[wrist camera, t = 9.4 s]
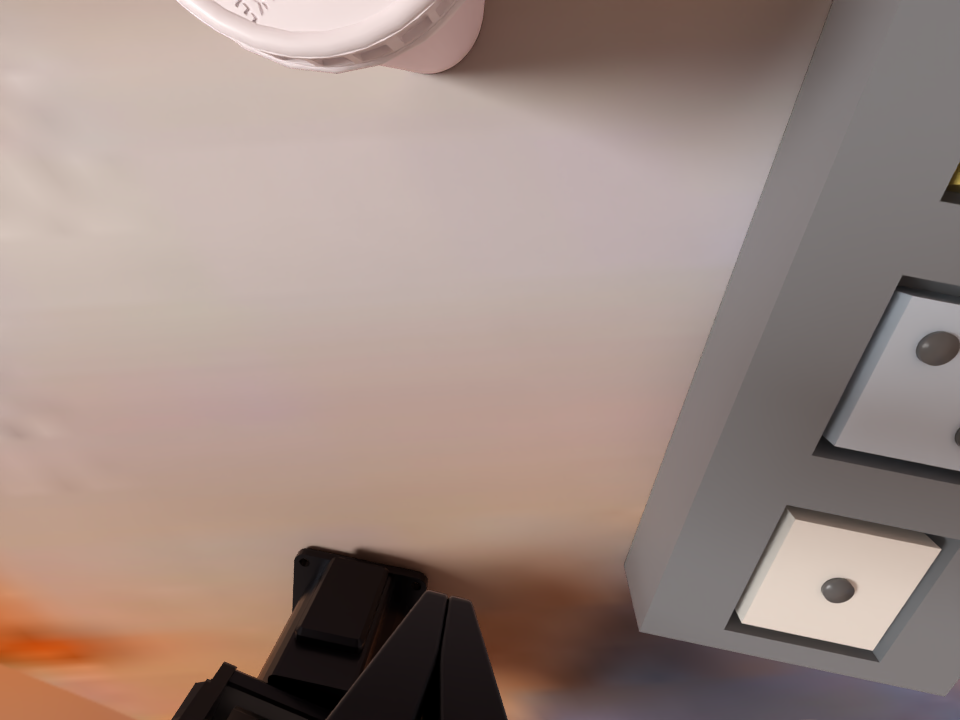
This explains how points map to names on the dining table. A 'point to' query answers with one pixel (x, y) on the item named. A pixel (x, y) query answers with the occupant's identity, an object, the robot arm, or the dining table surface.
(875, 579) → the button one
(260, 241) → the dining table surface
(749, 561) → the button panel
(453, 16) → the smoothie
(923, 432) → the button two
